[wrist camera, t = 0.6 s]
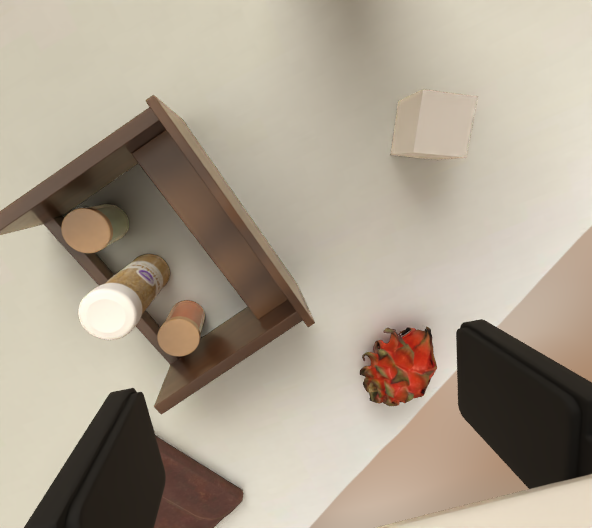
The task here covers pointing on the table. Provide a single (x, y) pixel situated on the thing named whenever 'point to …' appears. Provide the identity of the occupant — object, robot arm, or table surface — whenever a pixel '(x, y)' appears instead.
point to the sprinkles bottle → (123, 298)
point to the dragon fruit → (400, 367)
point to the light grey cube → (433, 125)
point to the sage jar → (94, 227)
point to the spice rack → (203, 225)
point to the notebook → (193, 493)
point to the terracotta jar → (182, 329)
